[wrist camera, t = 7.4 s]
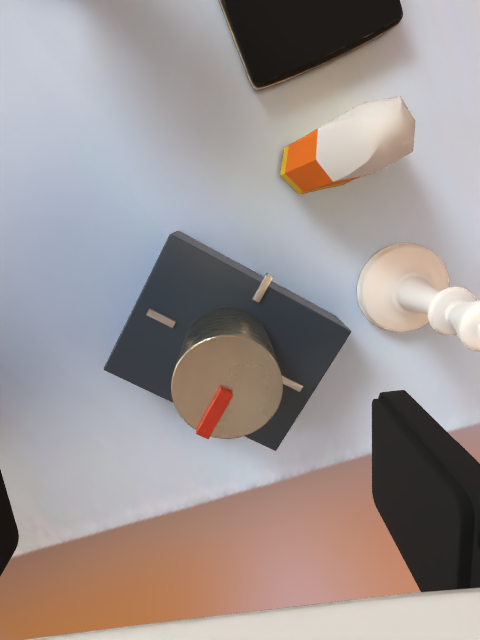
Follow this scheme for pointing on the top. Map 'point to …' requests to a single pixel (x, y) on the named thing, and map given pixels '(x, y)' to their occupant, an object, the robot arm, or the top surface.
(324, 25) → the smartphone
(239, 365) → the dial knob
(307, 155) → the candy corn
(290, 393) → the control panel
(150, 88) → the top surface
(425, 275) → the chess piece
